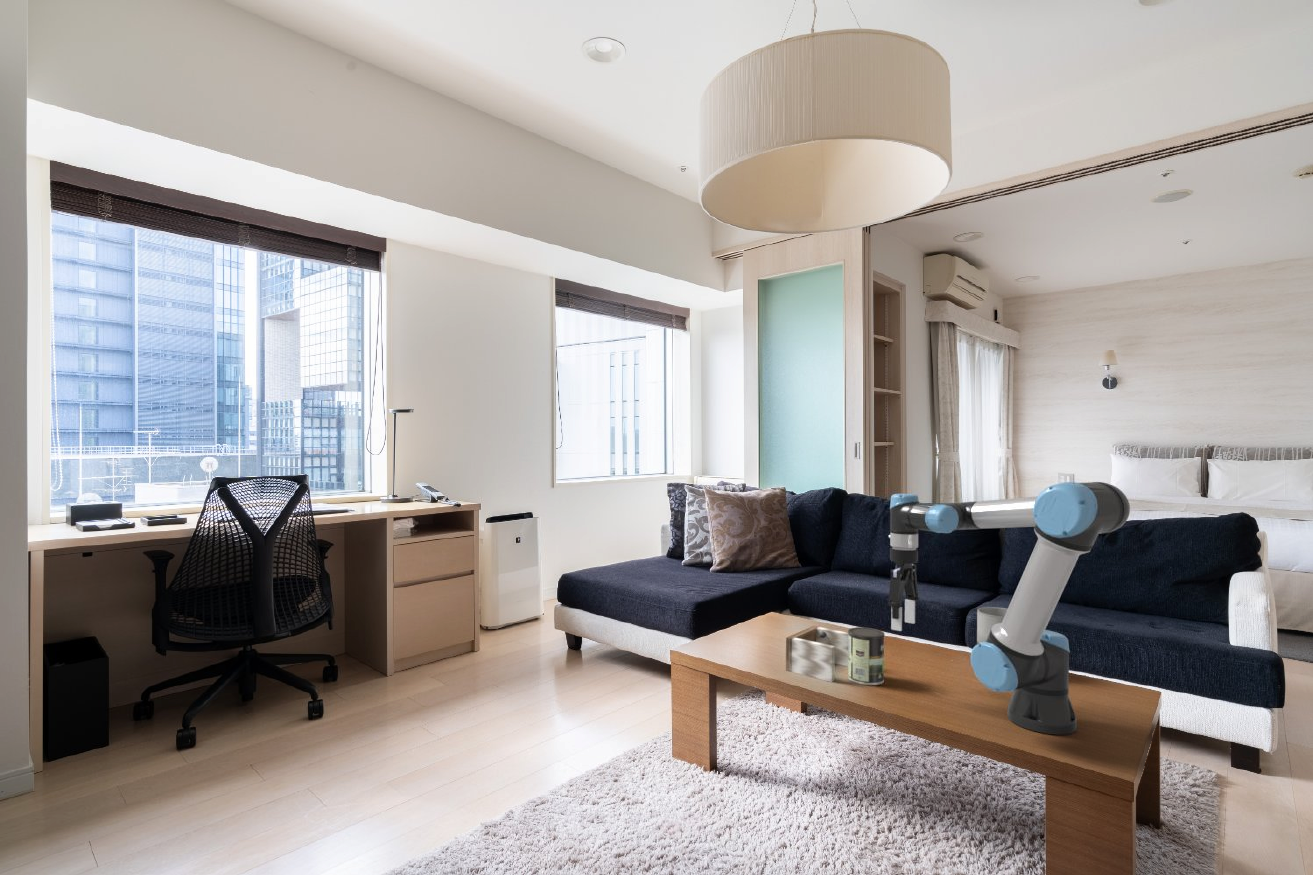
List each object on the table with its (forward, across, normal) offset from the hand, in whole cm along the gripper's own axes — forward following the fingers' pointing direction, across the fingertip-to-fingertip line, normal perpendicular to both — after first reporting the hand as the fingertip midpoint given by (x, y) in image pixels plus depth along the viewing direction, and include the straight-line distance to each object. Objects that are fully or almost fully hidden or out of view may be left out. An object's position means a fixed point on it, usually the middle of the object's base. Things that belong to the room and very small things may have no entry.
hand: (903, 626), depth 191 cm
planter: (+18, -37, +17) cm, 44 cm away
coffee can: (+18, 0, -11) cm, 21 cm away
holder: (+18, 0, -24) cm, 30 cm away
